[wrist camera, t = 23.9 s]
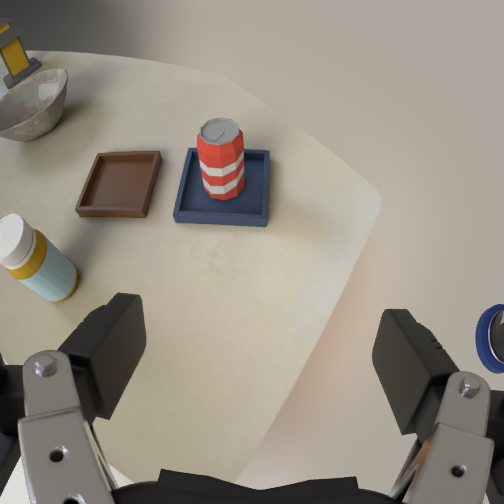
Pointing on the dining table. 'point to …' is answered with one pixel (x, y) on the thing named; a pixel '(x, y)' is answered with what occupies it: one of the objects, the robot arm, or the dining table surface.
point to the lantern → (14, 54)
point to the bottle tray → (119, 184)
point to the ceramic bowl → (33, 105)
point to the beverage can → (221, 158)
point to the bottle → (35, 260)
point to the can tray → (224, 211)
